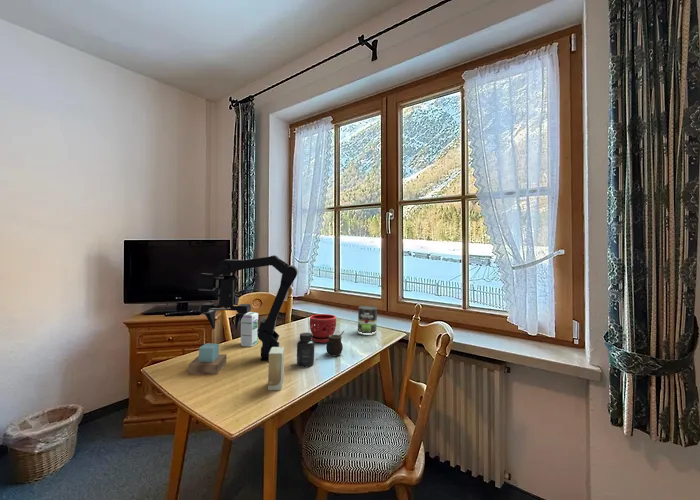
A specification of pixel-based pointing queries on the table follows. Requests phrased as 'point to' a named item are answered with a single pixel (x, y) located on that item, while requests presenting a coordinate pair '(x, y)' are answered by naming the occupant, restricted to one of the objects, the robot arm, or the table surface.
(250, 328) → the syrup box
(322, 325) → the plant pot
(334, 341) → the mate gourd
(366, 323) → the coffee can
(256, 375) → the table surface
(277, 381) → the skincare box
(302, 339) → the supplement bottle
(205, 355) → the teal cube
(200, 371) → the walnut block
